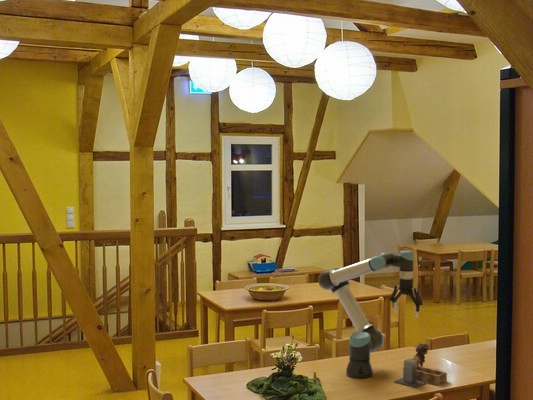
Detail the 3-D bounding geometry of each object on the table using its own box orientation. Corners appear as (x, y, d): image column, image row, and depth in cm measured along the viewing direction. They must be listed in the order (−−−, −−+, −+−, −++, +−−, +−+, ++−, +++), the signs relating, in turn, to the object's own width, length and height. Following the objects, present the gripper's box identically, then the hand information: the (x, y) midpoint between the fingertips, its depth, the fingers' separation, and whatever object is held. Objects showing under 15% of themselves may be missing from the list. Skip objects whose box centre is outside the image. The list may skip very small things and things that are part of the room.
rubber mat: (394, 382, 378) (394, 381, 378) (404, 378, 385) (404, 377, 385) (416, 388, 368) (416, 387, 368) (426, 383, 376) (426, 382, 376)
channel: (403, 376, 389) (403, 367, 388) (411, 372, 395) (411, 364, 395) (438, 385, 373) (438, 376, 373) (446, 381, 380) (446, 372, 380)
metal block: (403, 381, 377) (403, 360, 376) (408, 379, 380) (408, 358, 380) (411, 384, 373) (411, 362, 373) (416, 381, 377) (416, 360, 376)
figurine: (430, 367, 406) (431, 342, 405) (411, 375, 390) (412, 349, 389) (420, 364, 411) (420, 340, 410) (401, 372, 395) (401, 347, 394)
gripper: (383, 276, 392) (383, 313, 394) (422, 281, 375) (421, 320, 376) (391, 274, 398) (390, 311, 399) (429, 280, 381) (428, 317, 382)
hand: (405, 315), depth 388 cm, fingers open, 13 cm apart
